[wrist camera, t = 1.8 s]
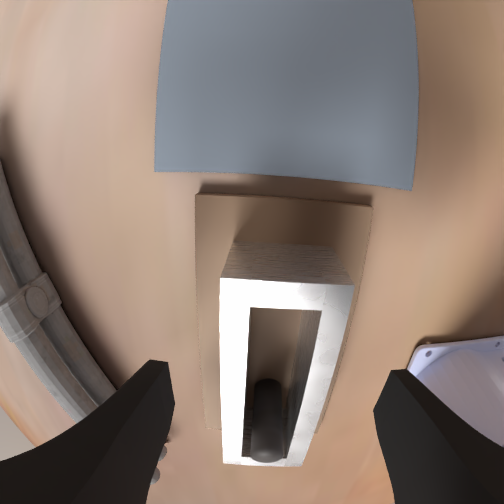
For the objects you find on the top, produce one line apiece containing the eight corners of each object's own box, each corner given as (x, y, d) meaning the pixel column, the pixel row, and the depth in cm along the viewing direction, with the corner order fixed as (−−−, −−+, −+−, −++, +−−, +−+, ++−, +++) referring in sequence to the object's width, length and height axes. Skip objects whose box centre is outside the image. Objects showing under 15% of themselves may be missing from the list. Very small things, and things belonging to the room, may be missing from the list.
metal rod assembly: (173, 442, 21) (160, 488, 16) (147, 442, 21) (132, 486, 16) (9, 142, 13) (-49, 151, 8) (-11, 162, 13) (-64, 176, 9)
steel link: (332, 246, 13) (354, 285, 10) (297, 417, 17) (301, 466, 14) (233, 240, 13) (220, 277, 10) (230, 414, 18) (223, 462, 14)
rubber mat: (406, -18, 9) (408, -21, 8) (408, 189, 13) (411, 190, 12) (178, -39, 9) (176, -43, 9) (157, 170, 13) (154, 171, 13)
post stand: (369, 205, 13) (425, 242, 8) (316, 427, 19) (324, 490, 13) (198, 192, 13) (155, 223, 8) (206, 421, 19) (194, 485, 14)
